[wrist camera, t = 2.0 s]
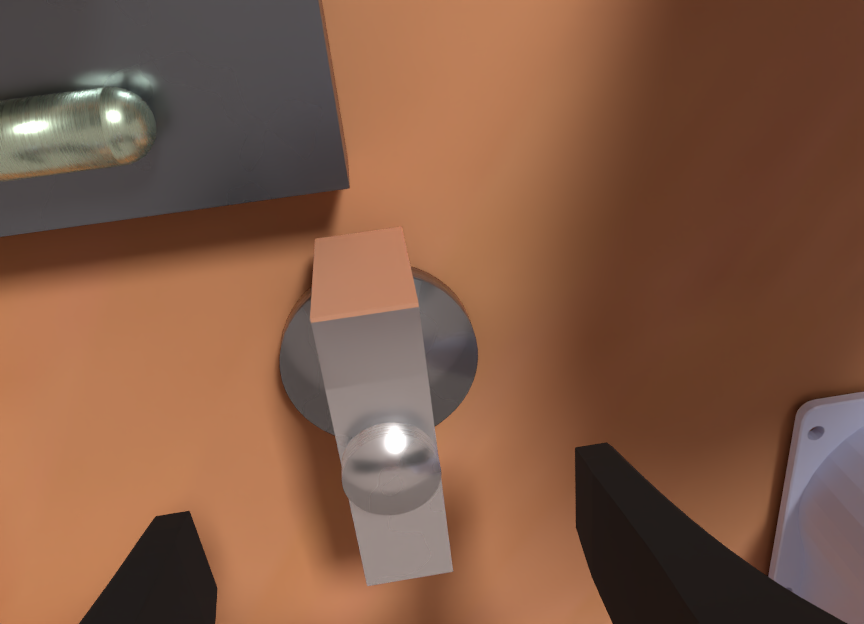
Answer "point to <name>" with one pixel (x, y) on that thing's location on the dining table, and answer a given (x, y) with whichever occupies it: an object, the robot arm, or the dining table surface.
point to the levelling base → (162, 108)
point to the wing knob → (382, 391)
